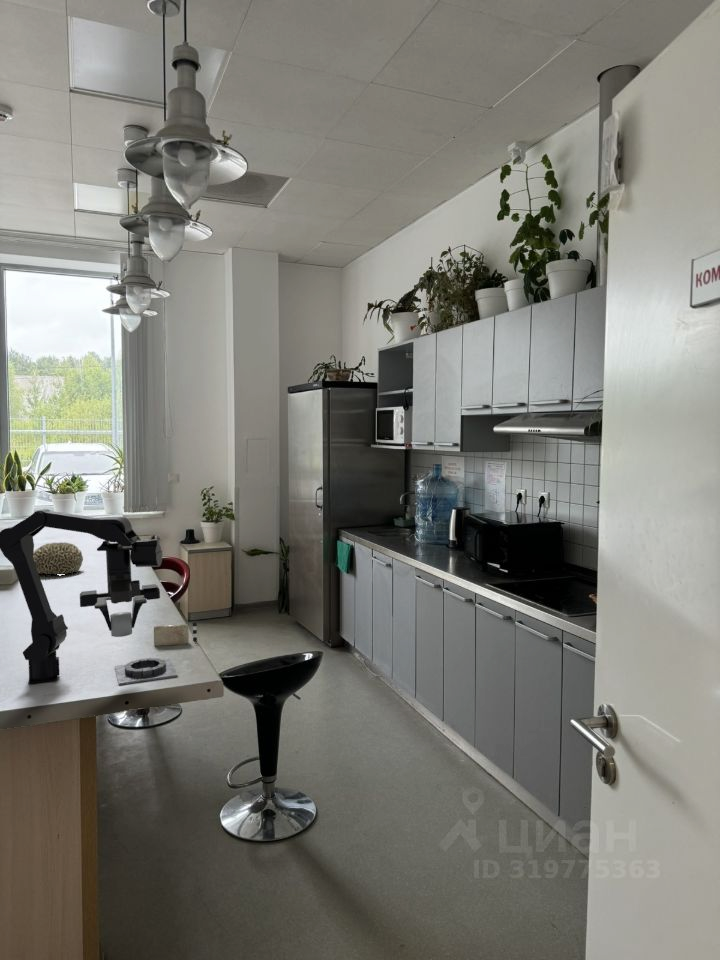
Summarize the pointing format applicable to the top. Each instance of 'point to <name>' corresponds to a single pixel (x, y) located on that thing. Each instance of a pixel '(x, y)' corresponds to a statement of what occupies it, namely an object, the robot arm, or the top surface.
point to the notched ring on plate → (145, 671)
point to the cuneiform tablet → (173, 634)
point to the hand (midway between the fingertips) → (121, 629)
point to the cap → (121, 624)
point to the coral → (58, 558)
